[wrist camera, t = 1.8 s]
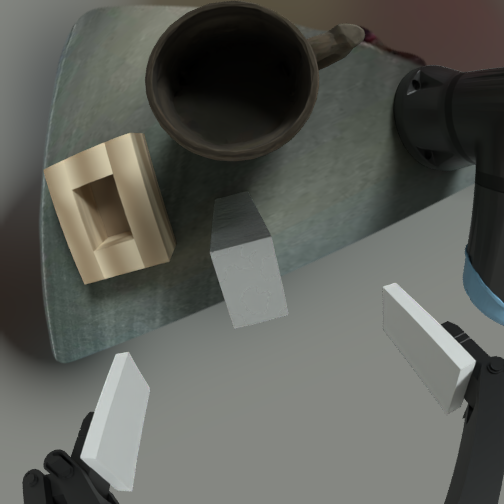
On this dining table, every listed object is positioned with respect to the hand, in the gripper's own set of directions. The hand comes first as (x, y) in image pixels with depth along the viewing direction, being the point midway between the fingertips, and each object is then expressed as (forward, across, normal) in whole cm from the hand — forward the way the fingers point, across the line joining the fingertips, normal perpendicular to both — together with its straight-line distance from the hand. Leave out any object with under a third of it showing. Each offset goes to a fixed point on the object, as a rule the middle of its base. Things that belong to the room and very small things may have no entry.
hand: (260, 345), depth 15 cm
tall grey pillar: (+24, 0, 0) cm, 25 cm away
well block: (+24, +13, -6) cm, 28 cm away
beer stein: (+25, -5, -14) cm, 29 cm away
